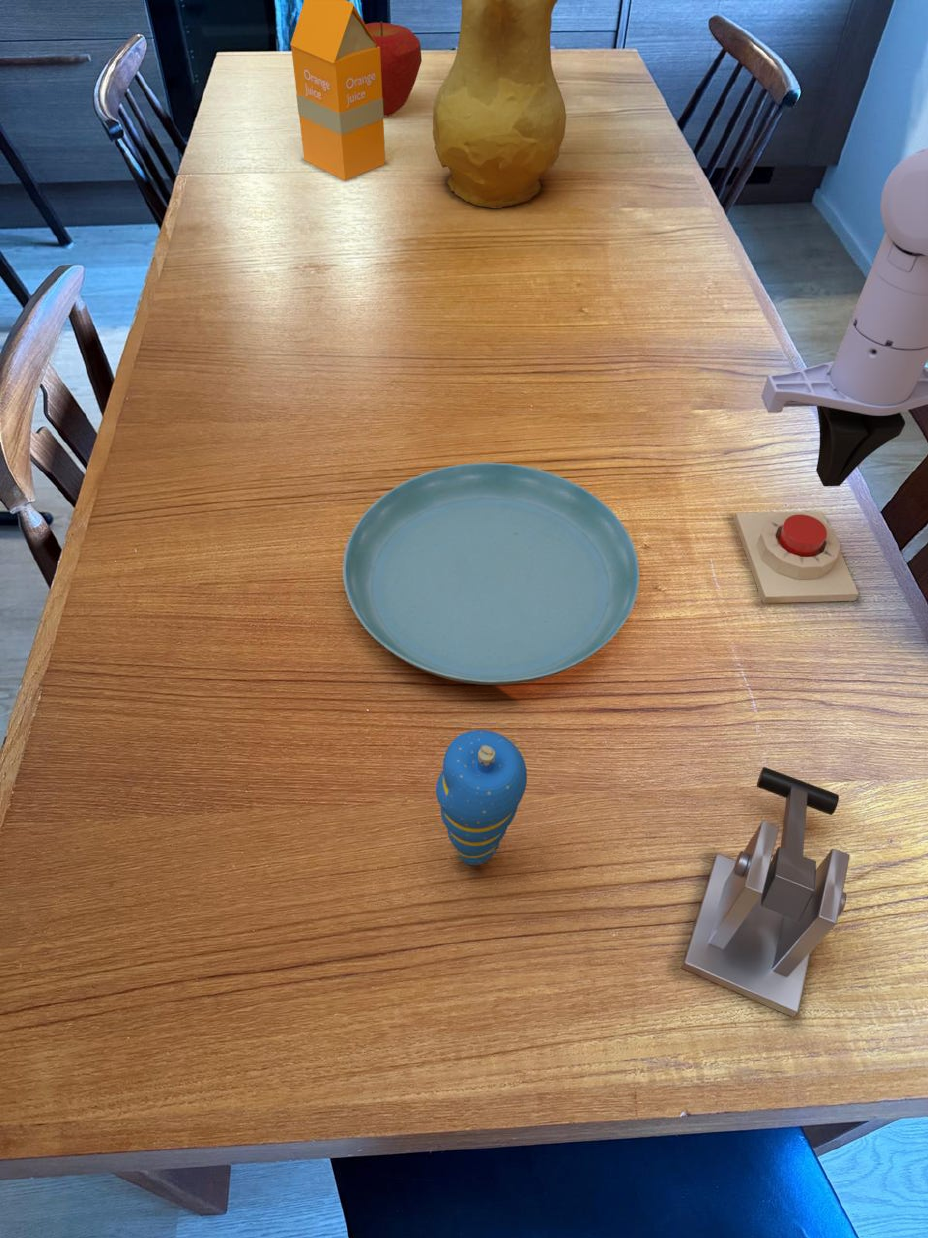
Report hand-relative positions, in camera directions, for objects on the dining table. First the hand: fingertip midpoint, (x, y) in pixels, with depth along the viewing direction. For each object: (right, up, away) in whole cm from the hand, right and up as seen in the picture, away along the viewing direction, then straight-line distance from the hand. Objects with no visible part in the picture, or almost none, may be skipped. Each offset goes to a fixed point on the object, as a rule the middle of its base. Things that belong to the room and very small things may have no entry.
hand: (828, 477), depth 71 cm
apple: (-41, +66, +66) cm, 102 cm away
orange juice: (-46, +53, +54) cm, 89 cm away
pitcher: (-24, +48, +51) cm, 74 cm away
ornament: (-28, -28, -11) cm, 41 cm away
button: (0, -5, +6) cm, 7 cm away
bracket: (-11, -31, -14) cm, 36 cm away
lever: (-9, -26, -16) cm, 31 cm away
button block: (0, -6, +7) cm, 9 cm away
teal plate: (-27, -9, +5) cm, 29 cm away
